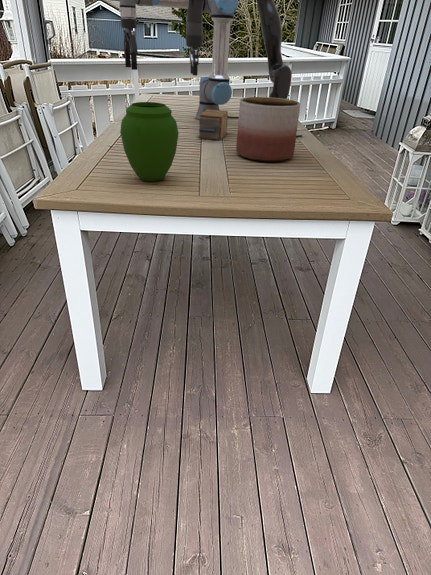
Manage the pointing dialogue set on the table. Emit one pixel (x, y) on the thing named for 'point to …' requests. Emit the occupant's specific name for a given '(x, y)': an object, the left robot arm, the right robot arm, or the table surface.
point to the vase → (149, 139)
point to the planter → (267, 128)
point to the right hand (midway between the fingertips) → (193, 74)
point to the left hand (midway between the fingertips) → (131, 68)
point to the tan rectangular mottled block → (223, 120)
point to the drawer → (209, 127)
